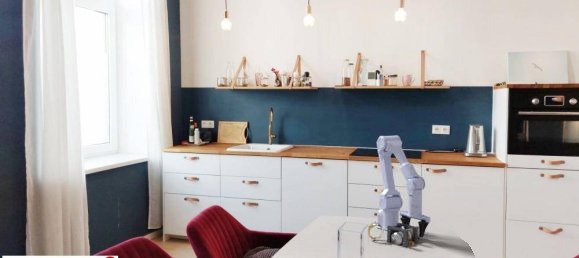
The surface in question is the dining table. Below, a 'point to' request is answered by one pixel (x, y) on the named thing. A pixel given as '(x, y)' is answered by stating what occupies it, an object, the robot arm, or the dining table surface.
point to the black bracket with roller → (405, 233)
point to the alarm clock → (372, 227)
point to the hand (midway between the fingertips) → (414, 234)
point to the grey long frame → (398, 236)
